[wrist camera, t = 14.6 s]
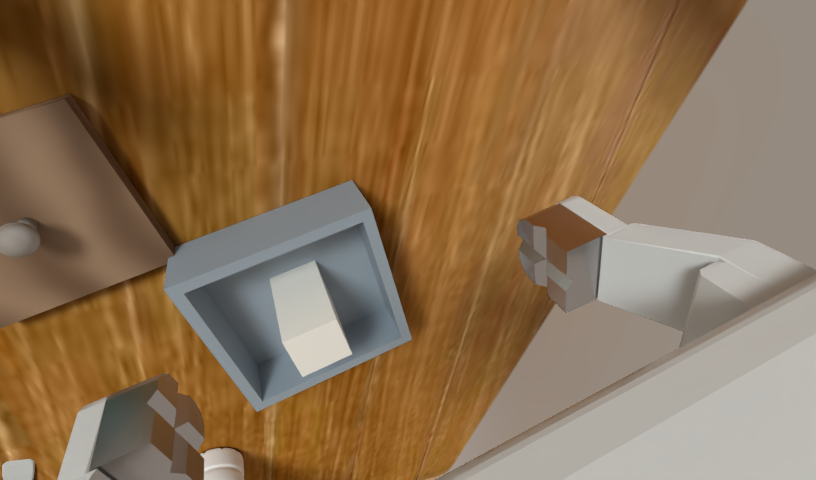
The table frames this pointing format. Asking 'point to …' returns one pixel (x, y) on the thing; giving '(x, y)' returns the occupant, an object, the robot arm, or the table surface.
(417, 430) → the table surface
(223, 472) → the water bottle
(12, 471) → the fork
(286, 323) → the ivory rectangular pillar
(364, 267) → the slate bin
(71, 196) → the walnut base
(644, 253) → the robot arm
